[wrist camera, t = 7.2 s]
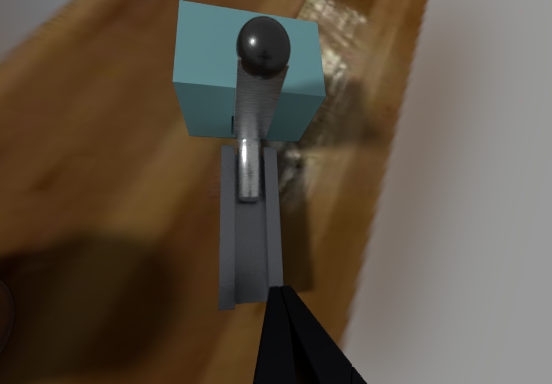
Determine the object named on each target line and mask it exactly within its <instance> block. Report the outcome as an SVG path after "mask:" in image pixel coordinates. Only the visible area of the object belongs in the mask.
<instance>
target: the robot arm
mask: <svg viewBox="0 0 552 384" xmlns="http://www.w3.org/2000/svg"><path fill="white" fill-rule="evenodd" d="M253 384H367V383H366V382H365V381H364V379H363V378H362V377H361V375H360V374H359V373H358V372H357V370H356V369H355V368H354V367H352V364H351V363H350V361H349V360H348V359H347V358H346V356H345V355H344V354H343V352H342V351H341V350H340V349H339V347H338V346H337V345H336V343H335V342H334V341H333V340H332V338H331V337H330V336H329V334H328V333H327V332H326V331H325V329H324V328H323V327H322V325H321V324H320V323H319V322H318V320H317V319H316V318H315V317H314V315H313V314H312V313H311V311H310V310H309V309H308V308H307V306H306V305H305V304H304V302H303V301H302V300H301V299H300V297H299V296H298V295H297V293H296V292H295V291H294V290H293V288H292V287H291V286H290V285H283V286H280V287H279V286H271V287H270V288H269V293H268V298H267V304H266V310H265V316H264V322H263V327H262V333H261V339H260V345H259V351H258V357H257V362H256V368H255V374H254V380H253Z"/></svg>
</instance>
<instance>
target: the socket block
mask: <svg viewBox="0 0 552 384" xmlns="http://www.w3.org/2000/svg"><path fill="white" fill-rule="evenodd" d="M258 16H268V17H271V18H273V19H275V20H277V21H278V22H279V23H280V24H281V25H282V26H283V27H284V28H285V30H286V32H287V34H288V36H289V39H290V45H291V54H290V59H289V68H288V71H287V74H286V77H285V80H284V83H283V86H282V90H281V93H280V96H279V99H278V102H277V105H276V108H275V111H274V115H273V118H272V121H271V124H270V127H269V130H268V133H267V136H266V139H260V140H277V141H296V142H299V140H300V138H301V137H302V135H303V133H304V132H305V130H306V129H307V127H308V125H309V124H310V122H311V120H312V119H313V117H314V115H315V114H316V112H317V110H318V109H319V107H320V106H321V104H322V102H323V101H324V99H325V97H326V92H325V84H324V76H323V67H322V59H321V51H320V43H319V34H318V26H317V23H315V22H309V21H303V20H297V19H291V18H285V17H279V16H273V15H267V14H261V13H254V12H248V11H242V10H236V9H230V8H224V7H218V6H212V5H206V4H200V3H194V2H188V1H182V0H180V2H179V13H178V25H177V37H176V49H175V61H174V73H173V84H174V87H175V90H176V94H177V97H178V100H179V103H180V107H181V110H182V113H183V116H184V120H185V123H186V126H187V129H188V132H189V136H203V137H222V138H234V102H235V80H236V58H237V54H236V40H237V36H238V34H239V32H240V29H241V28H242V27H243V25H244V24H245V23H246V22H247V21H249V20H250V19H252V18H254V17H258Z"/></svg>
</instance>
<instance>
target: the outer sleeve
mask: <svg viewBox="0 0 552 384" xmlns="http://www.w3.org/2000/svg"><path fill="white" fill-rule="evenodd" d="M260 160H261V192H262V199H261V200H259V201H253V202H245V201H240V200H238V155H235V146H232V145H221V204H220V263H219V311H220V310H231V309H235V304H241V303H252V302H264V301H266V302H267V298H268V293H269V288H270V287H271V286H279V287H280V286H283V267H282V248H281V229H280V209H279V190H278V170H277V151H276V148H274V147H264V149H263V152H262V155H261V156H260Z"/></svg>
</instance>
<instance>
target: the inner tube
mask: <svg viewBox="0 0 552 384" xmlns="http://www.w3.org/2000/svg"><path fill="white" fill-rule="evenodd" d="M236 54H237V58H236V80H235V102H234V138H238V200H240V201H245V202H253V201H259V200H261V199H262V192H261V160H260V139H266V136H267V133H268V130H269V127H270V124H271V121H272V118H273V115H274V111H275V108H276V105H277V102H278V99H279V96H280V93H281V90H282V86H283V83H284V80H285V77H286V74H287V71H288V68H289V59H290V54H291V45H290V39H289V36H288V34H287V32H286V30H285V28H284V27H283V26H282V25H281V24H280V23H279V22H278V21H277V20H275V19H273V18H271V17H268V16H258V17H254V18H252V19H250V20H249V21H247V22H246V23H245V24H244V25H243V27H242V28H241V29H240V32H239V34H238V36H237V40H236Z"/></svg>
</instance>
